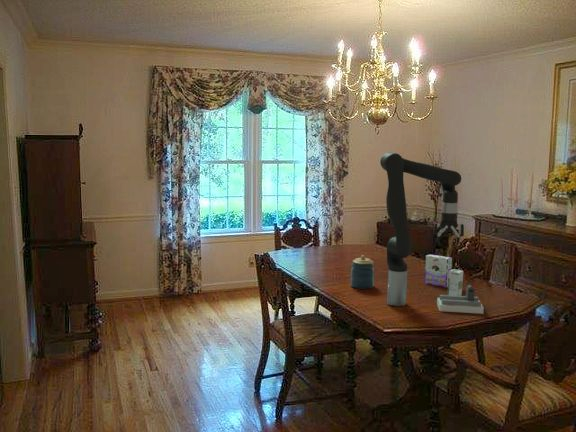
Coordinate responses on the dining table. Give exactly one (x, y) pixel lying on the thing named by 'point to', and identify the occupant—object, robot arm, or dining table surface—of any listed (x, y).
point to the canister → (362, 273)
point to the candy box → (437, 270)
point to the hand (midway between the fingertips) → (447, 244)
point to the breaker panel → (460, 308)
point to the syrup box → (455, 282)
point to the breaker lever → (470, 293)
